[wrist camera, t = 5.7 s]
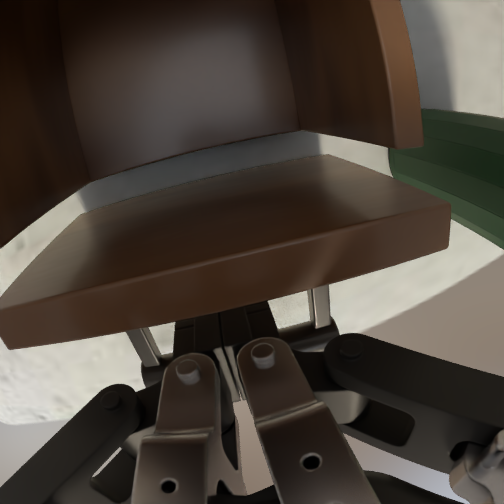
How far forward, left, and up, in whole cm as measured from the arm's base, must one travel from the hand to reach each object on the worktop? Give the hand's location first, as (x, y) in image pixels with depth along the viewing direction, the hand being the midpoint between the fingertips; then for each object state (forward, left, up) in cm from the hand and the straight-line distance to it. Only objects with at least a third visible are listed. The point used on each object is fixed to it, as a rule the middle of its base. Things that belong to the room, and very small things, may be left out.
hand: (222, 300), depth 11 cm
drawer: (0, -7, -4) cm, 8 cm away
